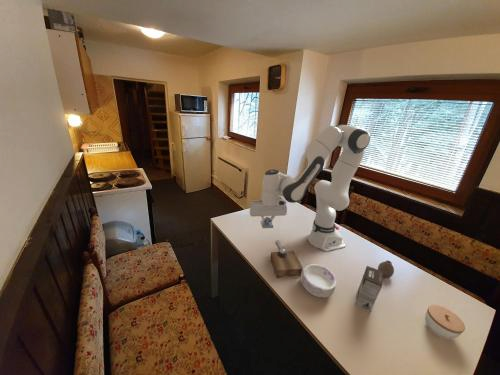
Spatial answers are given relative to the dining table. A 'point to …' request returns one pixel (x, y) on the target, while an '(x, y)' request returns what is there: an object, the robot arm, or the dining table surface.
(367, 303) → the coffee box
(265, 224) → the cover
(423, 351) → the dining table surface
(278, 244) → the lever handle
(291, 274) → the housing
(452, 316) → the lidded jar
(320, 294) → the white round bowl
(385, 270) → the vase
